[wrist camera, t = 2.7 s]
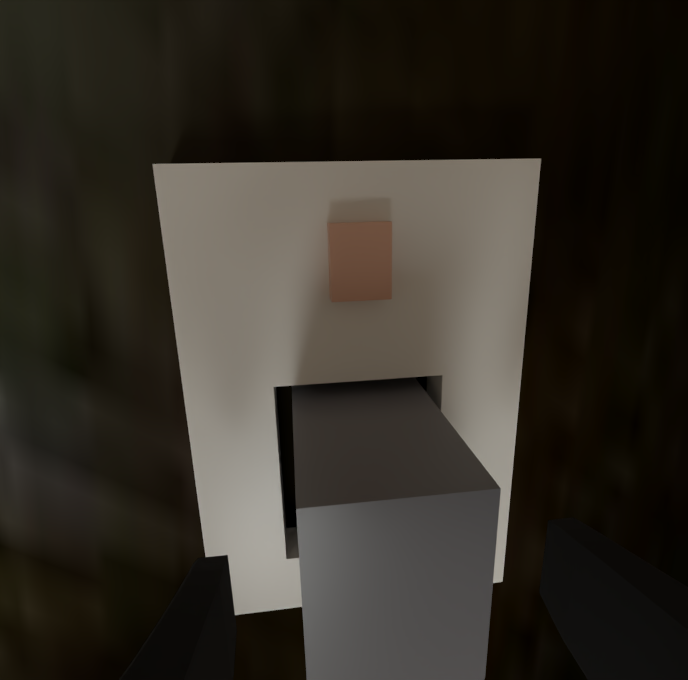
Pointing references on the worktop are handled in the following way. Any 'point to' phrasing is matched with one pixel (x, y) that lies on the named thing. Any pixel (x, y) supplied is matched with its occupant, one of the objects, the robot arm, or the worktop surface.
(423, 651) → the block
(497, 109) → the worktop surface
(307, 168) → the white flat block
